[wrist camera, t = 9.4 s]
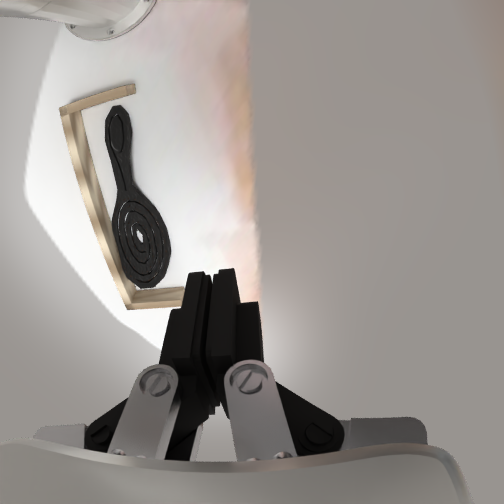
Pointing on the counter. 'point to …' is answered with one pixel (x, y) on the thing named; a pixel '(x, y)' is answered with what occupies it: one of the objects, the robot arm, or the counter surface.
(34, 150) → the counter surface
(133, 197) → the hairbrush
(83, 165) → the u-shaped wooden frame
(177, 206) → the counter surface
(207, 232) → the counter surface
